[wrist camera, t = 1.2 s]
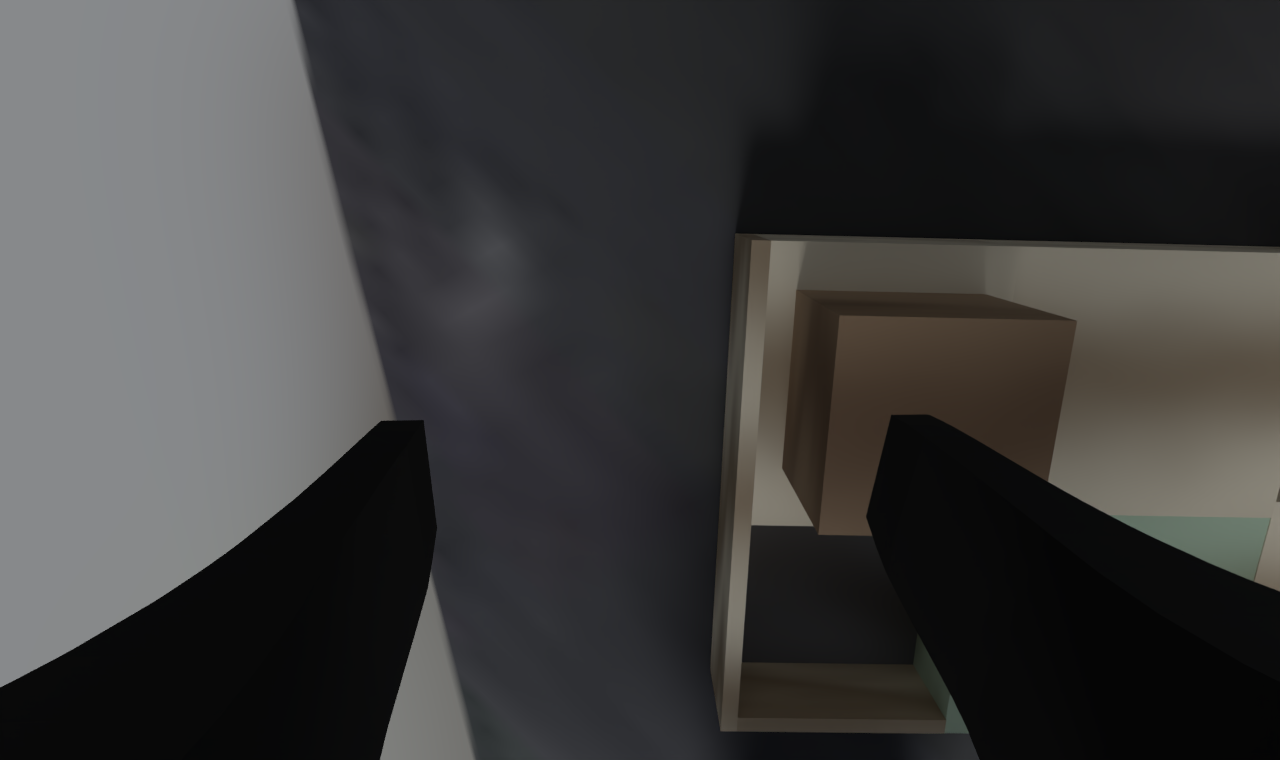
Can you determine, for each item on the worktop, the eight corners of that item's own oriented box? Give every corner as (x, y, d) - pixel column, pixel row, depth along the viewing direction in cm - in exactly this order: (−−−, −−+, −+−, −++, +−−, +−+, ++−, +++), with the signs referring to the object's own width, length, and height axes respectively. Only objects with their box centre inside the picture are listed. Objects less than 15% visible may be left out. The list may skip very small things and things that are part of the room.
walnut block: (959, 471, 20) (1037, 538, 16) (781, 468, 20) (818, 535, 16) (985, 294, 19) (1077, 320, 15) (796, 289, 19) (839, 315, 15)
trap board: (1338, 676, 26) (1429, 738, 23) (710, 668, 25) (720, 731, 22) (1474, 251, 22) (1604, 261, 19) (735, 233, 21) (752, 239, 18)
